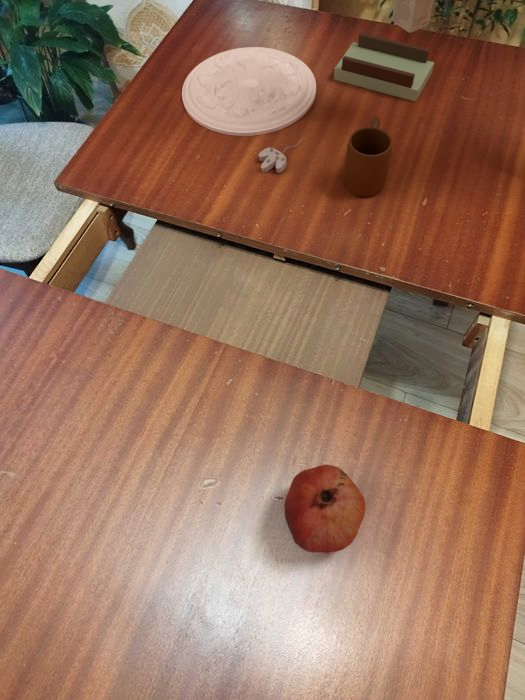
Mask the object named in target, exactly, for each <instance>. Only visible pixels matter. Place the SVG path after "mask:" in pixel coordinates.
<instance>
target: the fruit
mask: <svg viewBox="0 0 525 700" xmlns="http://www.w3.org/2000/svg"><path fill="white" fill-rule="evenodd" d="M283 506H284V507H283V510H284V511H283V512H284V519H285V520H286V524H287V527H288V529H289V532H290V534H291V537H292V540H293V542H294V543H295V544H296V546H298V547H299V548H300V549H301V550H304V551H306V552H308V553H324V554H328V553H335V552H340V551H342V550H345V549H346V548H348V547H349V546H350V545H351V544H352V543H353V542H354V540H355V539H356V537H357V536H358V533H359V529H360V526H361V524H362V522H363V521H364V517H365V514H366V513H365V512H366V500H365V497H364V495H363V493H362V492H361V491H360V489H359V487H358V486H357V485H356V484H355V482H354V481H353V480H352V479H351V477H350V476H349V475H348V474H347V473H346V472H345V471H344V470H343V469H342V468H340V467H338V466H335V465H331V464H321V465H318V466H315V467H311V468H308V469H303V470H302V471H299V472H298V473H297V474H296V475H295V476H294V477H293V479H292V481H291V483H290V486H289V489H288V492H287V494H286V495H285V499H284V505H283Z"/></svg>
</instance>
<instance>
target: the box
mask: <svg viewBox="0 0 525 700" xmlns="http://www.w3.org/2000/svg"><path fill="white" fill-rule="evenodd" d="M433 4H434V0H394V4H393V12H392V17H391V21H392V23H395V24H396V25H397V26H398V27H400V28H402V29H403V30H404V31H406V32H408V33H409V34H411V33H413V32H416V31H418V30H420V29H422V28H425V27H427V26H429V24H430V19H431V14H432V10H433Z"/></svg>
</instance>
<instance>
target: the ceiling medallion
mask: <svg viewBox="0 0 525 700" xmlns="http://www.w3.org/2000/svg"><path fill="white" fill-rule="evenodd" d="M316 95H317V82H316V77H315V75H314V73H313V72H312V70H311V68H310V67H309V66H308V65H307V64H306V63H305V62H303V60H301V59H299V58H298V57H297V56H294V55H293V54H290V53H288V52H285V51H283V50H280V49H275V48H270V47H263V46H261V47H260V46H246V47H245V46H244V47H237V48H232V49H228V50H224V51H221V52H219V53H216V54H214V55H212V56H210V57H208V58H206V59H205V60H203V61H201V62H200V63H199V64H197V65H196V66H195V67H194V68H193V69H192V70H191V71H190V72H189V73H188V75H187V76H186V78H185V80H184V82H183V85H182V88H181V98H182V103H183V106H184V109H185V112H186V113H187V114H188V115H189V117H190V118H191V119H192V120H193V121H195V123H197V124H198V125H200V126H202V127H203V128H204V129H205V128H206V129H207V130H210V131H211V132H215V133H219V134H222V135H227V136H235V137H253V136H255V137H256V136H262V135H266V134H270V133H274V132H277V131H281V130H283V129H285V128H287V127H289V126H291V125H292V124H294V123H296V122H298V120H300V119H301V118H303V116H305V115H306V113H307V112H309V110H310V109H311V107H312V106H313V104H314V101H315V99H316Z"/></svg>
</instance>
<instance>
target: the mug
mask: <svg viewBox="0 0 525 700" xmlns="http://www.w3.org/2000/svg"><path fill="white" fill-rule="evenodd" d="M380 126H381V118H380V117H379V116H377V115H374V116H372V117H371V118H370V121H369V126H364V127H360V128H358V129H356V130H354V131H353V132H352V133H351V134H350V136H349V138H348V142H347V147H346V152H345V153H346V155H345V162H344V171H343V172H344V174H343V183H344V187H345V188H346V189H347V191H348V192H349V193H351V194H352V195H355V196H357V197H363V198H368V197H373V196H376V195H378V194H379V193H381V191H383V189H384V188H385V185H386V182H387V178H388V173H389V169H390V163H391V158H392V153H393V145H394V143H393V138H392V136H391V134H390V133H389V132H387V131H386V130H385V129H382V128H380Z"/></svg>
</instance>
